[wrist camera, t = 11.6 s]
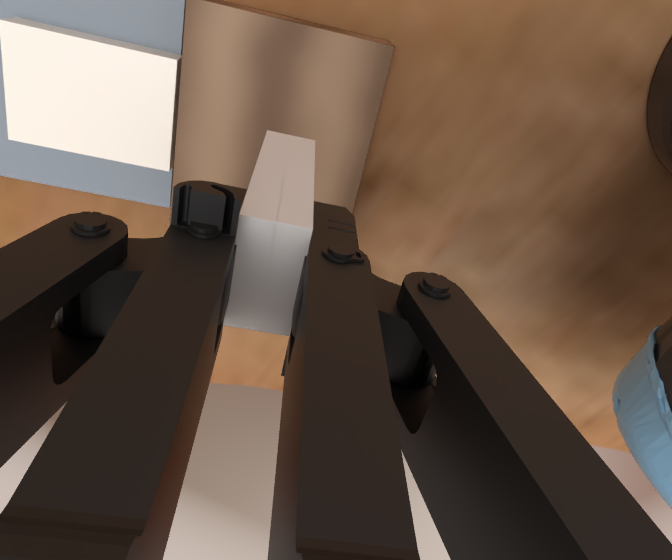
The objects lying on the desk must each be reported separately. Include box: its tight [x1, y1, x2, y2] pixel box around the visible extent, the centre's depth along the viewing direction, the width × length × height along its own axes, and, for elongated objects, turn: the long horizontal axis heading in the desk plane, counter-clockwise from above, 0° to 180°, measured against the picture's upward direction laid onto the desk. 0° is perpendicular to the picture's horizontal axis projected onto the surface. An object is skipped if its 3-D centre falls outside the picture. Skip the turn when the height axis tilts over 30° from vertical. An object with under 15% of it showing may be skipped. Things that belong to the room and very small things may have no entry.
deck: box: [170, 0, 395, 224], centre depth 35 cm, size 12×14×3 cm
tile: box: [0, 17, 182, 172], centre depth 34 cm, size 10×7×2 cm
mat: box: [0, 0, 186, 208], centre depth 34 cm, size 14×14×1 cm
